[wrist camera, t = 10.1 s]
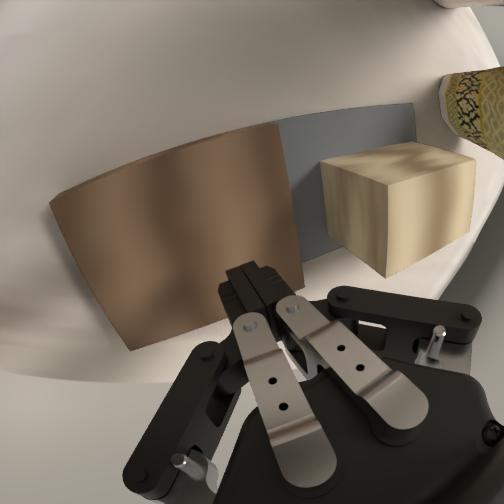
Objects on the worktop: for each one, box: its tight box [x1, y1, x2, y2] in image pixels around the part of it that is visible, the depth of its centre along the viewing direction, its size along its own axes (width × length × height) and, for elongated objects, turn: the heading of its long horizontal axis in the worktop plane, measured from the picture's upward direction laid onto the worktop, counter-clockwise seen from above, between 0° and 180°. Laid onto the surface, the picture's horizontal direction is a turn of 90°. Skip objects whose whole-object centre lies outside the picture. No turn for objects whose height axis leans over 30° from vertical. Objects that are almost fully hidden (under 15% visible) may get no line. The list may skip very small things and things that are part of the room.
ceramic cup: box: [438, 67, 504, 160], centre depth 18 cm, size 13×10×10 cm
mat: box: [267, 103, 417, 263], centre depth 21 cm, size 14×11×1 cm
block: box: [320, 142, 476, 279], centre depth 19 cm, size 10×6×7 cm, turn 103°
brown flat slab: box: [49, 123, 305, 351], centre depth 18 cm, size 14×12×2 cm
